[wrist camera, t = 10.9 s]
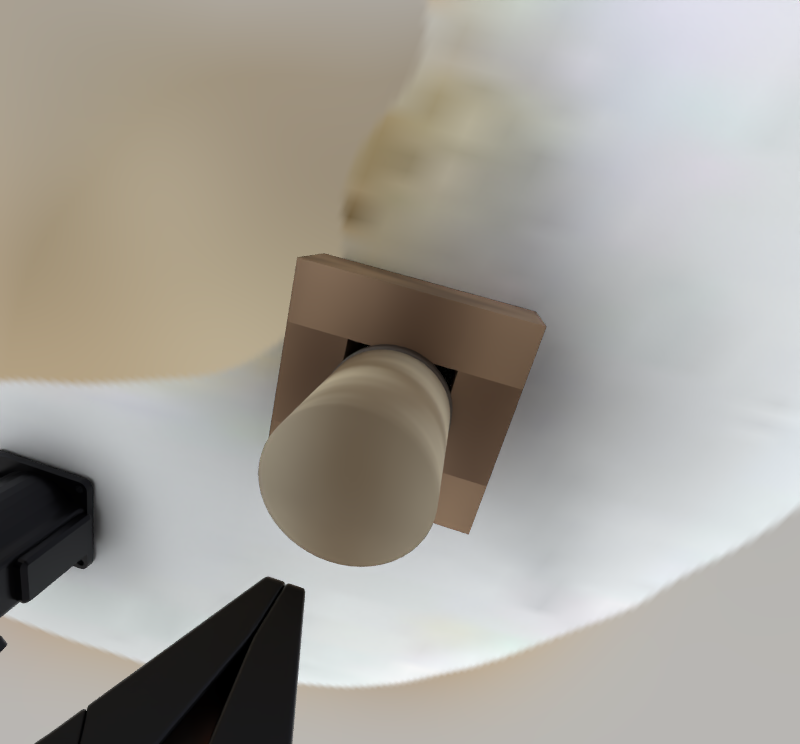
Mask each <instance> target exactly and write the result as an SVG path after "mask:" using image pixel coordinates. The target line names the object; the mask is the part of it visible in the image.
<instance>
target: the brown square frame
mask: <svg viewBox="0 0 800 744" xmlns="http://www.w3.org/2000/svg"><path fill="white" fill-rule="evenodd" d="M545 329H546V325H545V324H544V322H543V321H542V320H541V318H540V317H539V316H538V314H537V313H536V312H535V311H531V310H528V309H524V308H521V307H517V306H513V305H510V304H506V303H502V302H499V301H495V300H492V299H488V298H484V297H481V296H477V295H473V294H470V293H466V292H462V291H459V290H455V289H452V288H448V287H444V286H441V285H437V284H433V283H430V282H426V281H423V280H419V279H415V278H412V277H408V276H404V275H401V274H397V273H393V272H390V271H386V270H383V269H379V268H375V267H372V266H368V265H364V264H361V263H357V262H354V261H350V260H346V259H343V258H339V257H335V256H331V255H328V254H317V255H310V256H304V257H298V258H297V263H296V269H295V275H294V282H293V288H292V294H291V301H290V307H289V313H288V319H287V326H286V332H285V338H284V345H283V351H282V357H281V363H280V370H279V376H278V382H277V389H276V395H275V401H274V407H273V414H272V420H271V426H270V433H269V437H270V435H271V434H272V433H273V431H274V430H275V429H276V428H277V427H278V426H279V425H280V424H281V423H282V422H283V421H284V420H285V419H286V418H287V417H288V416H289V415H290V414H291V413H292V412H293V411H294V410H295V409H296V408H297V407H298V406H299V405H300V404H301V403H302V402H303V401H304V400H305V399H306V398H307V397H308V396H309V395H310V394H311V393H312V392H313V391H314V390H315V389H316V388H317V387H319V386H320V385H321V384H322V383H323V382H324V381H325V380H326V379H327V378H328V377H329V376H330V375H331V374H332V372H333V371H334V370H335V368H336V367H337V366H338V365H339V364H340V363H341V362H342V361H343V360H344V359H346V358H347V357H348V356H349V355H351V354H352V353H354V352H356V351H358V350H360V349H361V345H362V343H363V344H367V345H370V346H373V345H379V344H390V345H398V346H402V347H406V348H408V349H411V350H413V351H415V352H417V353H419V354H421V355H422V356H424V357H425V358H427V359H428V360H429V361H430V362H431V363H433V364H436V365H439V366H443V367H446V368H449V369H453V370H455V371H454V374H453V377H452V381H451V384H450V387H449V390H450V393H451V398H452V409H453V410H452V419H451V425H450V429H449V433H448V438H447V445H446V452H445V459H444V466H443V473H442V480H441V486H440V493H439V500H438V507H437V512H436V516H435V520H434V522H433V523H435V524H438V525H441V526H444V527H447V528H450V529H453V530H457V531H460V532H463V533H466V534H469V532H470V529H471V527H472V524H473V521H474V518H475V516H476V513H477V510H478V508H479V505H480V502H481V500H482V497H483V494H484V492H485V489H486V486H487V484H488V481H489V478H490V476H491V473H492V470H493V468H494V465H495V462H496V460H497V457H498V454H499V452H500V449H501V446H502V444H503V441H504V438H505V436H506V433H507V430H508V428H509V425H510V422H511V420H512V417H513V414H514V412H515V409H516V406H517V404H518V401H519V398H520V396H521V393H522V390H523V388H524V385H525V382H526V380H527V377H528V374H529V372H530V369H531V366H532V364H533V361H534V358H535V356H536V353H537V350H538V348H539V345H540V342H541V340H542V337H543V334H544V332H545Z"/></svg>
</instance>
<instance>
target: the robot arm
mask: <svg viewBox="0 0 800 744" xmlns="http://www.w3.org/2000/svg"><path fill="white" fill-rule="evenodd" d="M92 562H93V487H92V484H91V482H90V481H89V480H87V479H85V478H82V477H79V476H76V475H73V474H70V473H67V472H64V471H61V470H58V469H55V468H52V467H49V466H46V465H43V464H40V463H37V462H34V461H31V460H28V459H25V458H22V457H19V456H16V455H13V454H10V453H7V452H4V451H2V450H0V617H2V616H3V615H4V614H5V613H7V612H8V611H9V610H10V609H12V608H13V607H14V606H15V605H17V604H18V603H19V602H21V603H27V602H29V601H31V600H32V599H33V598H35V597H36V596H37V595H38V594H39V593H41V592H42V591H43V590H44V589H45V588H47V587H48V586H49V585H50V584H51V583H53V582H54V581H55V580H56V579H57V578H59V577H60V576H61V575H62V574H64V573H65V572H66V571H67V570H68V569H70V568H71V567H72V566H75V567H77V568H80V569H85V568H87V567H88V566H89V565H90V564H91V563H92ZM304 601H305V590H304V589H303V588H301V587H298V586H295V585H292V584H286V585H285V583H284V582H283V581H280V580H277V579H274V578H271V577H265V578H263V579H262V580H260V581H259V582H258V583H256V584H255V585H254V586H252V587H251V588H249V589H248V590H247V591H245V592H244V593H243V594H241V595H240V596H238V597H237V598H236V599H234V600H233V601H232V602H230V603H229V604H227V605H226V606H225V607H223V608H222V609H220V610H219V611H218V612H216V613H215V614H214V615H212V616H211V617H209V618H208V619H207V620H205V621H204V622H203V623H201V624H200V625H198V626H197V627H196V628H194V629H193V630H192V631H190V632H189V633H187V634H186V635H185V636H183V637H182V638H181V639H179V640H178V641H176V642H175V643H174V644H172V645H171V646H170V647H168V648H167V649H165V650H164V651H163V652H161V653H160V654H159V655H157V656H156V657H154V658H153V659H152V660H150V661H149V662H147V663H146V664H145V665H143V666H142V667H141V668H139V669H138V670H137V671H135V672H134V673H132V674H131V675H130V676H128V677H127V678H126V679H124V680H123V681H121V682H120V683H119V684H117V685H116V686H114V687H113V688H112V689H110V690H109V691H108V692H106V693H105V694H103V695H102V696H101V697H99V698H98V699H97V700H95V701H94V702H92V703H91V704H90V705H89V706H88V708H87V711H86V710H85V709H83V710H81V711H80V712H78V713H77V714H76V715H74V716H73V717H72V718H70V719H69V720H67V721H66V722H65V723H63V724H62V725H61V726H59V727H58V728H56V729H55V730H54V731H52V732H51V733H49V734H48V735H46V736H45V737H43V738H42V739H40V740H39V741H38V742H36V743H35V744H292V741H293V729H294V717H295V706H296V694H297V683H298V671H299V659H300V648H301V636H302V624H303V613H304ZM6 645H7V643H6V641H5V640H4V639H3V638H2V636H0V652H1V651H2V650H3V649H4V648H5V647H6Z"/></svg>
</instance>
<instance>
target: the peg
mask: <svg viewBox="0 0 800 744" xmlns="http://www.w3.org/2000/svg"><path fill="white" fill-rule="evenodd" d="M452 410H453V409H452V398H451V393H450V390H449V387H448V385H447V383H446V381H445V379H444V377H443V375H442V374H441V373H440V371H439V370H438V369H437V368H436V366H435V365H434V364H433V363H431V362H430V361H429V360H428V359H427V358H425V357H424V356H422V355H421V354H419V353H417V352H415V351H413V350H411V349H408V348H406V347H402V346H398V345H390V344H379V345H373V346H368V347H365V348H362V349H360V350H358V351H356V352H354V353H352V354H351V355H349V356H348V357H347V358H346V359H344V360H343V361H342V362H341V363H340V364H339V365H338V366H337V367H336V368H335V370H334V371H333V372H332V374H331V375H330V376H329V377H328V378H327V379H326V380H325V381H324V382H323V383H322V384H321V385H320V386H319V387H317V388H316V389H315V390H314V391H313V392H312V393H311V394H310V395H309V396H308V397H307V398H306V399H305V400H304V401H303V402H302V403H301V404H300V405H299V406H298V407H297V408H296V409H295V410H294V411H293V412H292V413H291V414H290V415H289V416H288V417H287V418H286V419H285V420H284V421H283V422H282V423H281V424H280V425H279V426H278V427H277V428H276V429H275V430H274V431H273V433H272V434H271V435H270V437H269V438H268V440H267V442H266V443H265V445H264V448H263V451H262V453H261V457H260V462H259V471H258V476H259V486H260V491H261V495H262V498H263V501H264V504H265V506H266V508H267V510H268V512H269V514H270V515H271V517H272V518H273V520H274V522H275V523H276V524H277V525H278V527H279V528H280V529H281V530H282V531H283V532H284V533H285V534H286V535H287V536H288V537H289V538H290V539H291V540H292V541H293V542H294V543H296V544H297V545H298V546H300V547H301V548H303V549H304V550H306V551H307V552H309V553H311V554H313V555H315V556H317V557H319V558H322V559H324V560H327V561H329V562H333V563H337V564H341V565H347V566H357V567H365V566H376V565H382V564H385V563H389V562H392V561H394V560H397V559H399V558H401V557H403V556H405V555H406V554H408V553H409V552H411V551H412V550H413V549H414V548H416V547H417V546H418V545H419V544H420V543H421V542H422V540H423V539H424V538H425V537H426V535H427V534H428V532H429V531H430V529H431V527H432V524H433V522H434V520H435V516H436V512H437V507H438V500H439V493H440V486H441V480H442V473H443V466H444V459H445V452H446V445H447V438H448V433H449V429H450V425H451V419H452Z"/></svg>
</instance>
